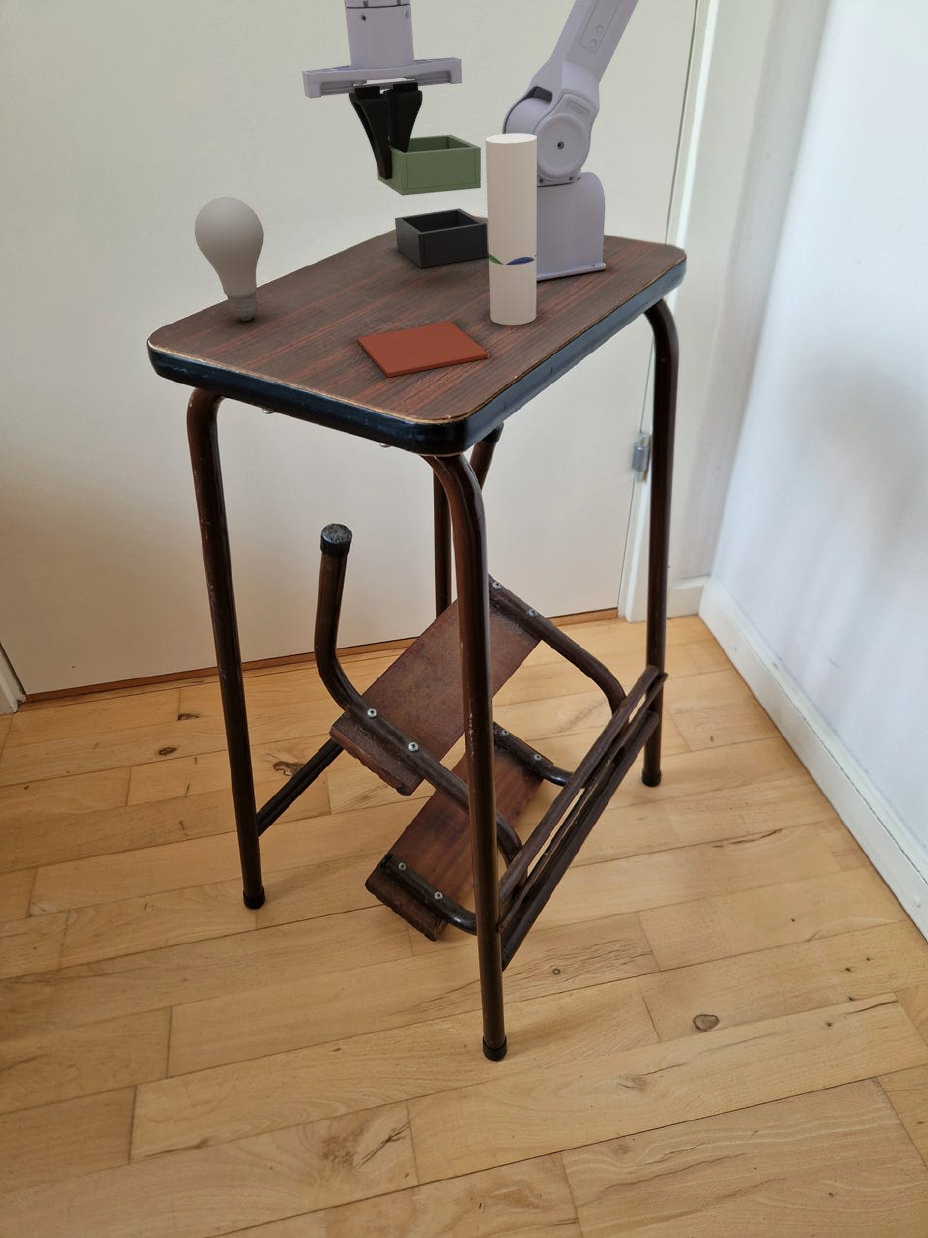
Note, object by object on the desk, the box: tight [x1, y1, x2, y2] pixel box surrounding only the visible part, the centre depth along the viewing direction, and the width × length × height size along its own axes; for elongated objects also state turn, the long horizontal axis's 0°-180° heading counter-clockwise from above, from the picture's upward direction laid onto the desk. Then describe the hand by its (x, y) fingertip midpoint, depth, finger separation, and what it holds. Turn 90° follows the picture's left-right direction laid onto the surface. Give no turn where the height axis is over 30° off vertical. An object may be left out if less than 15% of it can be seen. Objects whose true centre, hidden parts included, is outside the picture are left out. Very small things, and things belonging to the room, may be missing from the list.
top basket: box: [376, 134, 482, 197], centre depth 86 cm, size 8×8×4 cm
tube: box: [485, 133, 537, 326], centre depth 78 cm, size 4×4×15 cm
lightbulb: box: [194, 196, 265, 322], centre depth 82 cm, size 6×6×11 cm
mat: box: [356, 320, 489, 378], centre depth 77 cm, size 9×9×1 cm
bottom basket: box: [394, 208, 489, 269], centre depth 99 cm, size 8×8×4 cm
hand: (392, 176), depth 85 cm, fingers closed on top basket
